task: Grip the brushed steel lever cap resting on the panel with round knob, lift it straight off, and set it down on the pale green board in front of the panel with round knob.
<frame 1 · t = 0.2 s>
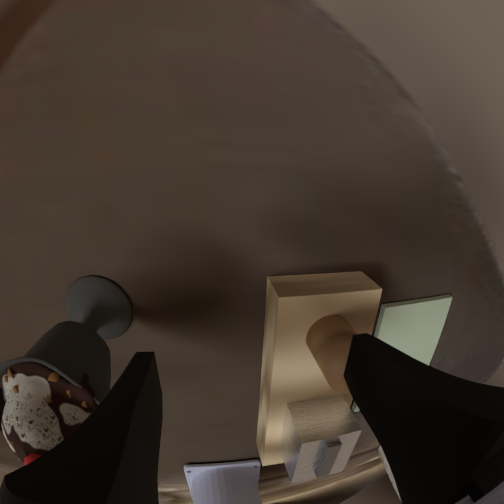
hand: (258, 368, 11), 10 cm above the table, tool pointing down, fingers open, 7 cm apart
sundae: (98, 306, 19), on the table
panel with round knob: (302, 374, 24), on the table
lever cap: (308, 422, 22), point 3 cm above the table, touching panel with round knob
board: (401, 355, 26), on the table
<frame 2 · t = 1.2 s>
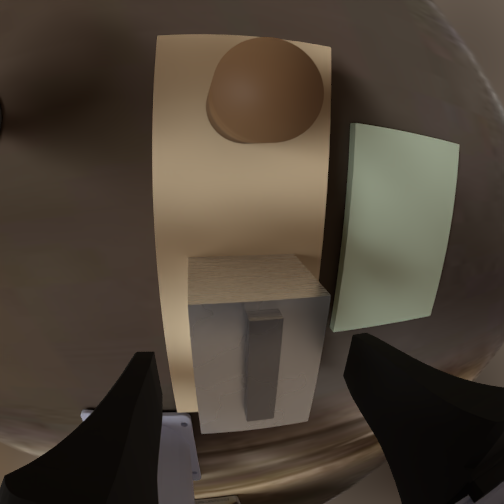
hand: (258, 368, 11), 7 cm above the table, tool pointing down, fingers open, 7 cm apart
panel with round knob: (233, 235, 16), on the table
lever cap: (241, 318, 14), point 3 cm above the table, touching panel with round knob
board: (399, 232, 18), on the table
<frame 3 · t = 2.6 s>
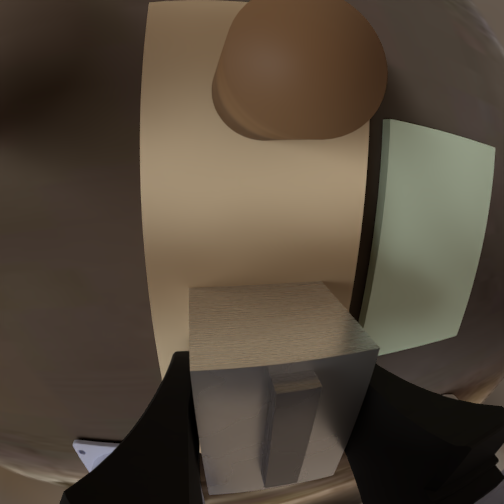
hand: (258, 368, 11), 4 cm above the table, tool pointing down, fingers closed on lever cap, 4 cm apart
panel with round knob: (243, 253, 13), on the table
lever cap: (254, 358, 11), point 3 cm above the table, touching gripper, panel with round knob
board: (431, 247, 15), on the table
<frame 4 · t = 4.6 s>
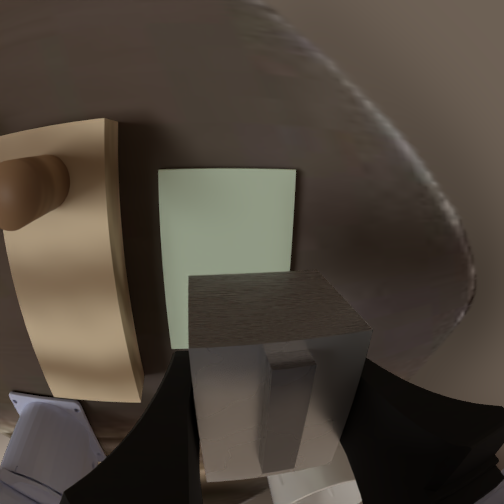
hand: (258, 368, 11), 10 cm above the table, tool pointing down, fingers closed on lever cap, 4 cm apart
white cup: (292, 417, 27), on the table
panel with round knob: (76, 268, 18), on the table
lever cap: (252, 346, 12), point 9 cm above the table, touching gripper
board: (226, 263, 20), on the table
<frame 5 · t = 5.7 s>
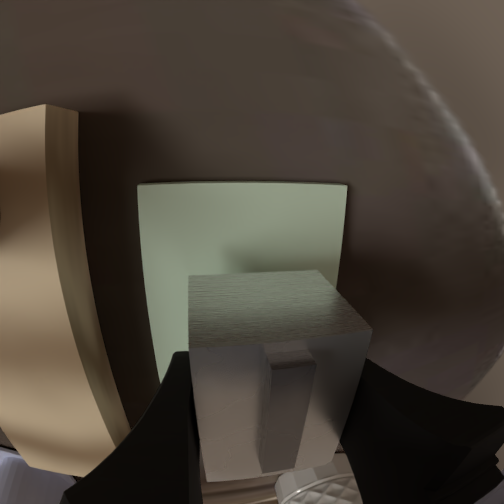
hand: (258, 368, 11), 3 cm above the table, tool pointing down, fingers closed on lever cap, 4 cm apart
white cup: (314, 473, 20), on the table
panel with round knob: (35, 321, 12), on the table
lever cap: (252, 346, 12), point 2 cm above the table, touching gripper
board: (242, 319, 14), on the table
when the fingers open (3 cm above the table, at t = 6.8 s): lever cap drops 1 cm, resting on board.
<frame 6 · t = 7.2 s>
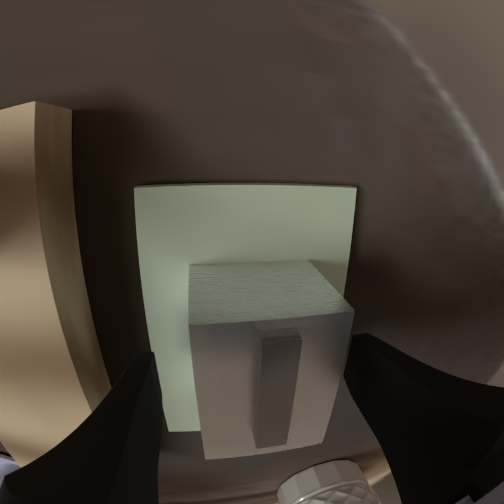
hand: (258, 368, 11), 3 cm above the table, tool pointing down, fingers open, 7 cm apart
white cup: (317, 479, 20), on the table
panel with round knob: (30, 329, 11), on the table
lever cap: (248, 331, 12), point 1 cm above the table, touching board
board: (245, 327, 13), on the table
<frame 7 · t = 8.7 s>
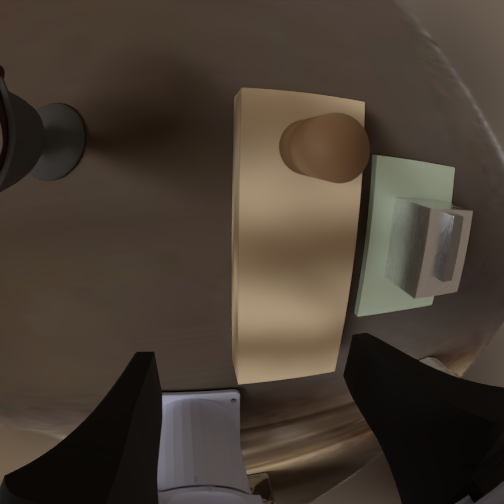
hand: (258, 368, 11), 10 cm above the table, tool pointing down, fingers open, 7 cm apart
coffee box: (230, 487, 29), on the table
sundae: (53, 141, 16), on the table
panel with round knob: (285, 240, 21), on the table
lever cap: (412, 237, 22), point 1 cm above the table, touching board
board: (407, 238, 22), on the table
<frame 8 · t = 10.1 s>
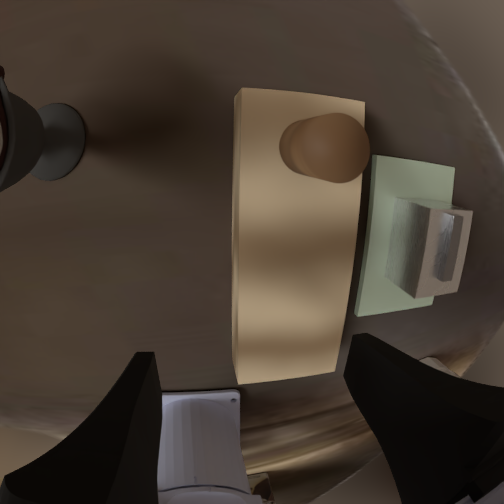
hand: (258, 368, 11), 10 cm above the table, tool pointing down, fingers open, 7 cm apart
coffee box: (230, 487, 29), on the table
sundae: (53, 141, 16), on the table
panel with round knob: (285, 240, 21), on the table
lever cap: (412, 237, 22), point 1 cm above the table, touching board
board: (407, 238, 22), on the table
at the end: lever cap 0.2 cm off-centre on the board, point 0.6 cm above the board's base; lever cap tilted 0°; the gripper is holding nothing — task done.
